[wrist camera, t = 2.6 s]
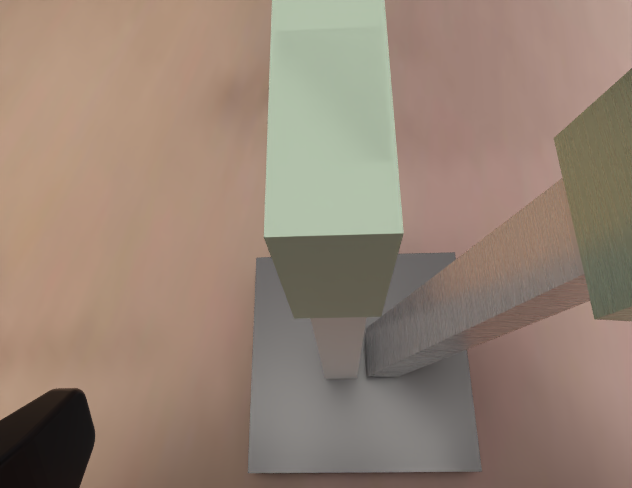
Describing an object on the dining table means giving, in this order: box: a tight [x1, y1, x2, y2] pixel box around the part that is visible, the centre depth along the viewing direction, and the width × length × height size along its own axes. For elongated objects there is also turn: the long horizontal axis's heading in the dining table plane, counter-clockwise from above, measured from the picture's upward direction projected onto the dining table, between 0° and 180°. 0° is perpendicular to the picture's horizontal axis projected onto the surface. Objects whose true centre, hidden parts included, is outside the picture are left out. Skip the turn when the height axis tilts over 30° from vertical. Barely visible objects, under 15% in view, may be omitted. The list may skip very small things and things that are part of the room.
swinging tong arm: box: [365, 69, 632, 377], centre depth 10 cm, size 3×1×12 cm, turn 1°
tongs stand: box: [248, 0, 482, 473], centre depth 11 cm, size 7×7×14 cm
